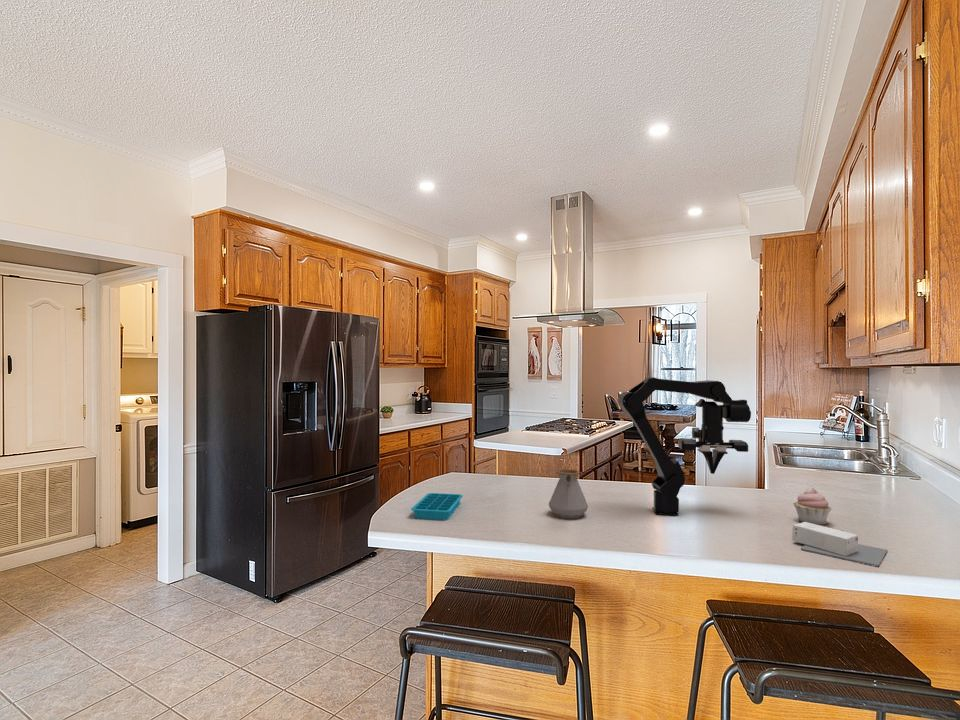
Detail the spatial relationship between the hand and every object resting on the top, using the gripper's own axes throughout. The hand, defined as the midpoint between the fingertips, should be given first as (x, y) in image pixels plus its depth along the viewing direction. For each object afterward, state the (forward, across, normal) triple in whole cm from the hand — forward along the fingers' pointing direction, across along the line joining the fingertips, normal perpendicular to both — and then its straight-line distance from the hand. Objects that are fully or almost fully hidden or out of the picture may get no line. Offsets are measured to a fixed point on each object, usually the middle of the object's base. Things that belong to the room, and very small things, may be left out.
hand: (712, 473), depth 156 cm
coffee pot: (+12, +43, +15) cm, 47 cm away
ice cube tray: (+12, +82, +13) cm, 84 cm away
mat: (+12, -23, +28) cm, 38 cm away
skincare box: (+9, -15, +22) cm, 28 cm away
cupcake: (+12, -26, +4) cm, 29 cm away
